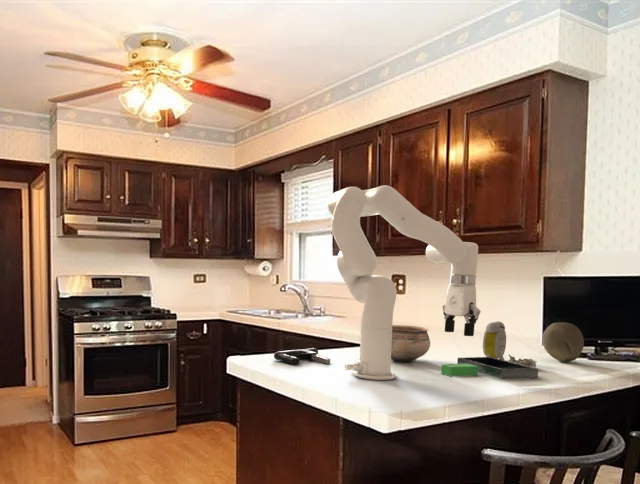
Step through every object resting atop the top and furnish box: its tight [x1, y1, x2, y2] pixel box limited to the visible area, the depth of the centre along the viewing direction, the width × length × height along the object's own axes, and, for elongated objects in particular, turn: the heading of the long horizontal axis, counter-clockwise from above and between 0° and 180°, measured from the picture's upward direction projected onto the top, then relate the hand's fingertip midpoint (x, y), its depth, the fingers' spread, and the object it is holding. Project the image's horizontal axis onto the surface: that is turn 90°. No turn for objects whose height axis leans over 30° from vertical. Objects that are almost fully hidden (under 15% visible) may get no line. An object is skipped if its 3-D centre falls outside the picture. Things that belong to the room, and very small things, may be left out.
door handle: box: [273, 347, 331, 366], centre depth 193 cm, size 3×20×16 cm
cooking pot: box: [391, 324, 431, 363], centre depth 199 cm, size 25×19×12 cm
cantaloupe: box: [542, 322, 585, 363], centre depth 206 cm, size 14×14×15 cm
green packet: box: [440, 363, 479, 378], centre depth 174 cm, size 10×5×3 cm, turn 105°
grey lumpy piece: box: [508, 354, 537, 368], centre depth 189 cm, size 11×8×4 cm
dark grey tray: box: [456, 356, 539, 380], centre depth 179 cm, size 14×22×4 cm, turn 14°
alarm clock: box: [482, 320, 507, 360], centre depth 201 cm, size 12×7×15 cm, turn 139°
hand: (458, 333), depth 173 cm, fingers open, 9 cm apart
